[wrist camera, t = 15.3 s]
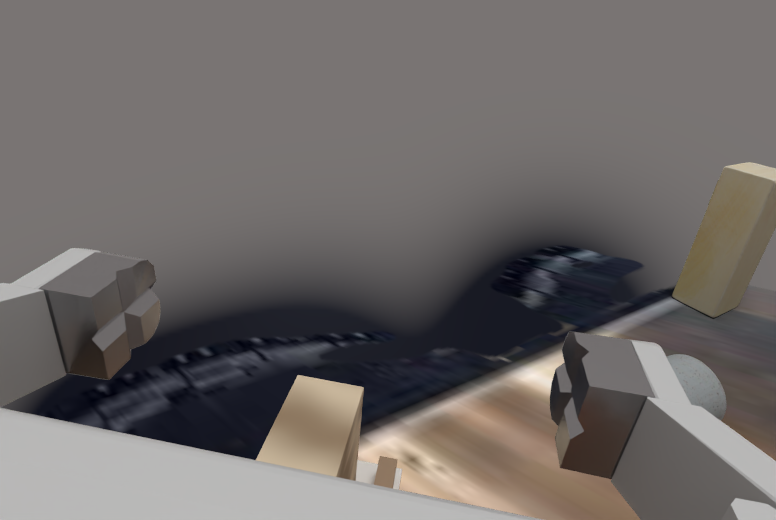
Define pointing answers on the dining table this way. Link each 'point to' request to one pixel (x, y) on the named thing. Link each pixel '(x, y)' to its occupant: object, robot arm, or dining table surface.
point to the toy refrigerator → (730, 239)
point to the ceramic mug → (699, 384)
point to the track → (379, 473)
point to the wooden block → (317, 429)
